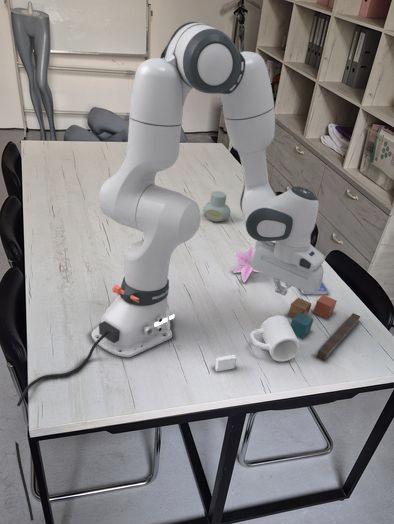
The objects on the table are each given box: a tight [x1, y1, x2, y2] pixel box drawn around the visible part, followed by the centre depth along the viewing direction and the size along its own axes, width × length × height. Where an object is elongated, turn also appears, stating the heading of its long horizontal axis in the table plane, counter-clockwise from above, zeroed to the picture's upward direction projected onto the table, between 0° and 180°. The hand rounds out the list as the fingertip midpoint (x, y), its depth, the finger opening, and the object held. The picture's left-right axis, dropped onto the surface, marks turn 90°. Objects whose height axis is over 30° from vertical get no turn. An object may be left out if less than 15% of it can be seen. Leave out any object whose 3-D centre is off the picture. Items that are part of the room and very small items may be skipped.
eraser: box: [214, 354, 237, 372], centre depth 123 cm, size 1×5×4 cm, turn 110°
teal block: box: [290, 313, 314, 339], centre depth 138 cm, size 4×4×4 cm
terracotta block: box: [313, 294, 338, 320], centre depth 147 cm, size 4×4×4 cm
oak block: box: [287, 297, 312, 319], centre depth 144 cm, size 4×4×4 cm
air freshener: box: [202, 190, 232, 223], centre depth 190 cm, size 11×8×10 cm
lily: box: [233, 243, 260, 284], centre depth 159 cm, size 12×12×10 cm
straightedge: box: [316, 312, 361, 362], centre depth 138 cm, size 24×2×2 cm, turn 143°
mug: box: [249, 315, 301, 362], centre depth 129 cm, size 12×10×8 cm
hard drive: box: [300, 282, 328, 295], centre depth 160 cm, size 2×8×12 cm
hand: (280, 293), depth 138 cm, fingers closed
